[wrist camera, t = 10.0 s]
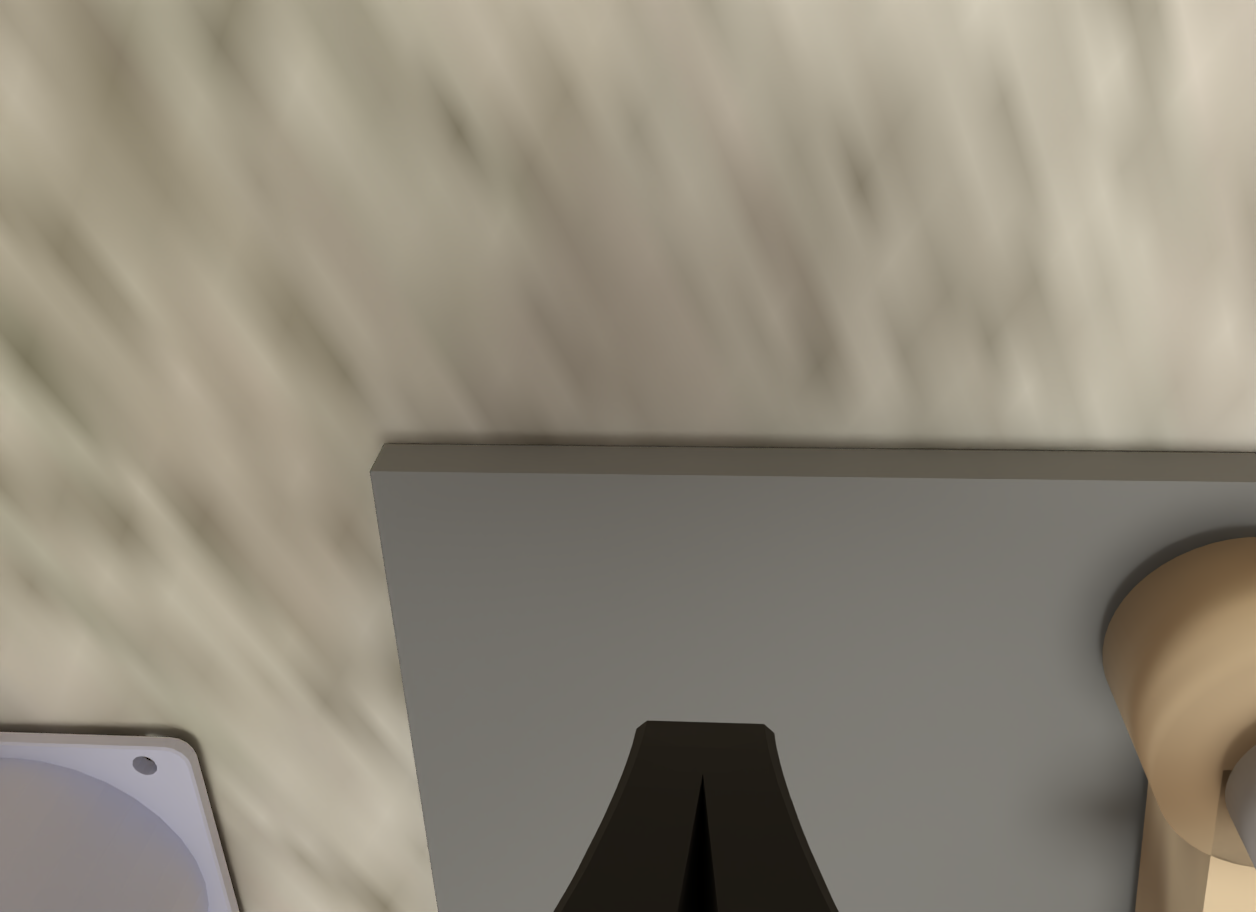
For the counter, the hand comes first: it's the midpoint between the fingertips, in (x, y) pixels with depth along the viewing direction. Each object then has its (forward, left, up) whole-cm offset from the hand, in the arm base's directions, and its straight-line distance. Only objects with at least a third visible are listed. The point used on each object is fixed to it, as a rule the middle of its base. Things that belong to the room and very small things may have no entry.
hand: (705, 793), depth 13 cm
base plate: (+3, -11, -9) cm, 15 cm away
